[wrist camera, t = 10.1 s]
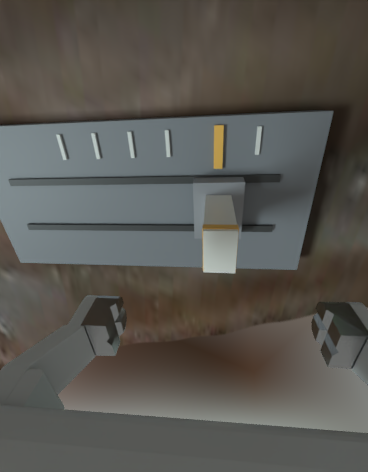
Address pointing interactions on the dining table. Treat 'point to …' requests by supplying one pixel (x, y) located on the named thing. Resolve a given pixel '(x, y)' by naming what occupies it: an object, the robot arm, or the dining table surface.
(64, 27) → the dining table surface
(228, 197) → the fader
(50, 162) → the console
